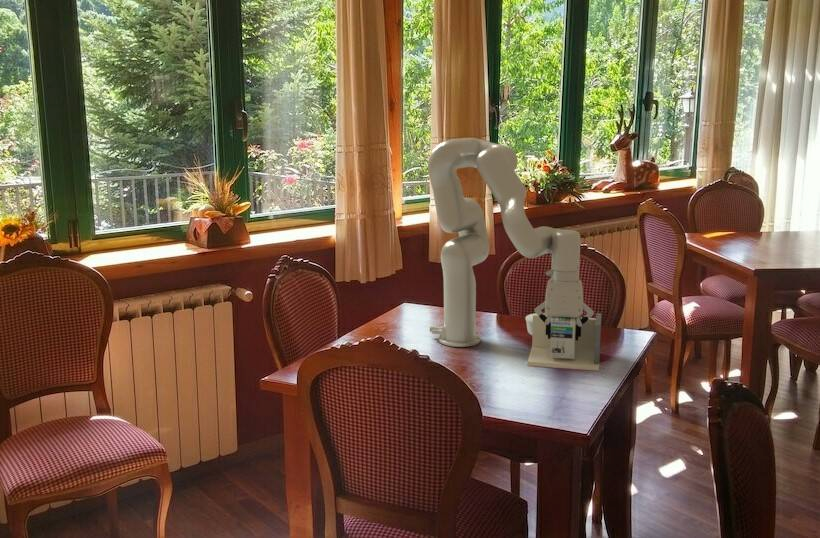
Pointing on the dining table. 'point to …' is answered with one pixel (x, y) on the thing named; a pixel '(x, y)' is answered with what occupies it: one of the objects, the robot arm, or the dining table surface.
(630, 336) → the dining table surface
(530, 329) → the ramekin
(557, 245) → the robot arm
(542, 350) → the cream open angled stand
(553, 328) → the light bulb box
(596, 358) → the bookend
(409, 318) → the dining table surface
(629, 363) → the dining table surface
